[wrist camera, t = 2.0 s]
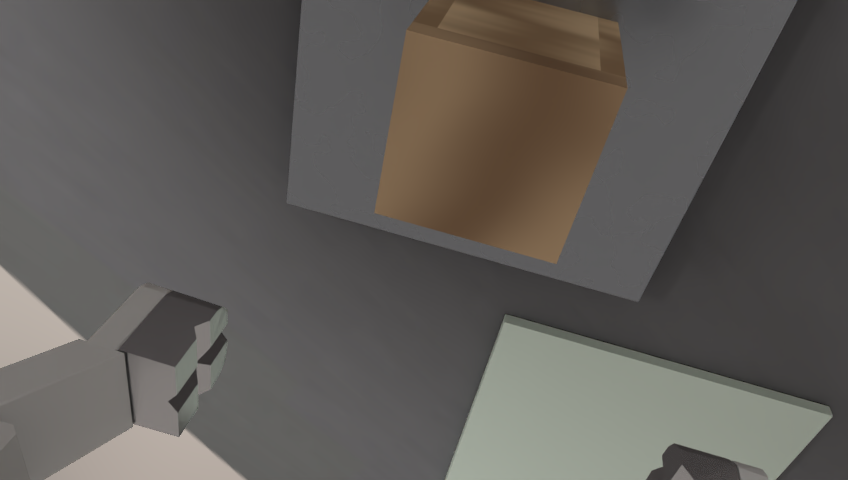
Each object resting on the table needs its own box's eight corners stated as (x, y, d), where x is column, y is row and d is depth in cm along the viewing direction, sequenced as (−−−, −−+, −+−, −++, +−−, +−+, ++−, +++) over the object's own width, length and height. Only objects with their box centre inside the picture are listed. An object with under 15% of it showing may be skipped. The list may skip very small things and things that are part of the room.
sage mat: (439, 493, 41) (437, 501, 41) (505, 313, 32) (503, 321, 31) (686, 568, 40) (687, 577, 40) (829, 406, 31) (833, 416, 30)
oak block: (414, 133, 25) (374, 213, 21) (445, -23, 22) (406, 29, 17) (562, 173, 25) (556, 264, 20) (618, 22, 22) (627, 88, 17)
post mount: (298, 186, 30) (243, 262, 25) (335, -234, 20) (257, -243, 16) (635, 281, 29) (645, 378, 24) (837, -113, 20) (920, -82, 15)
